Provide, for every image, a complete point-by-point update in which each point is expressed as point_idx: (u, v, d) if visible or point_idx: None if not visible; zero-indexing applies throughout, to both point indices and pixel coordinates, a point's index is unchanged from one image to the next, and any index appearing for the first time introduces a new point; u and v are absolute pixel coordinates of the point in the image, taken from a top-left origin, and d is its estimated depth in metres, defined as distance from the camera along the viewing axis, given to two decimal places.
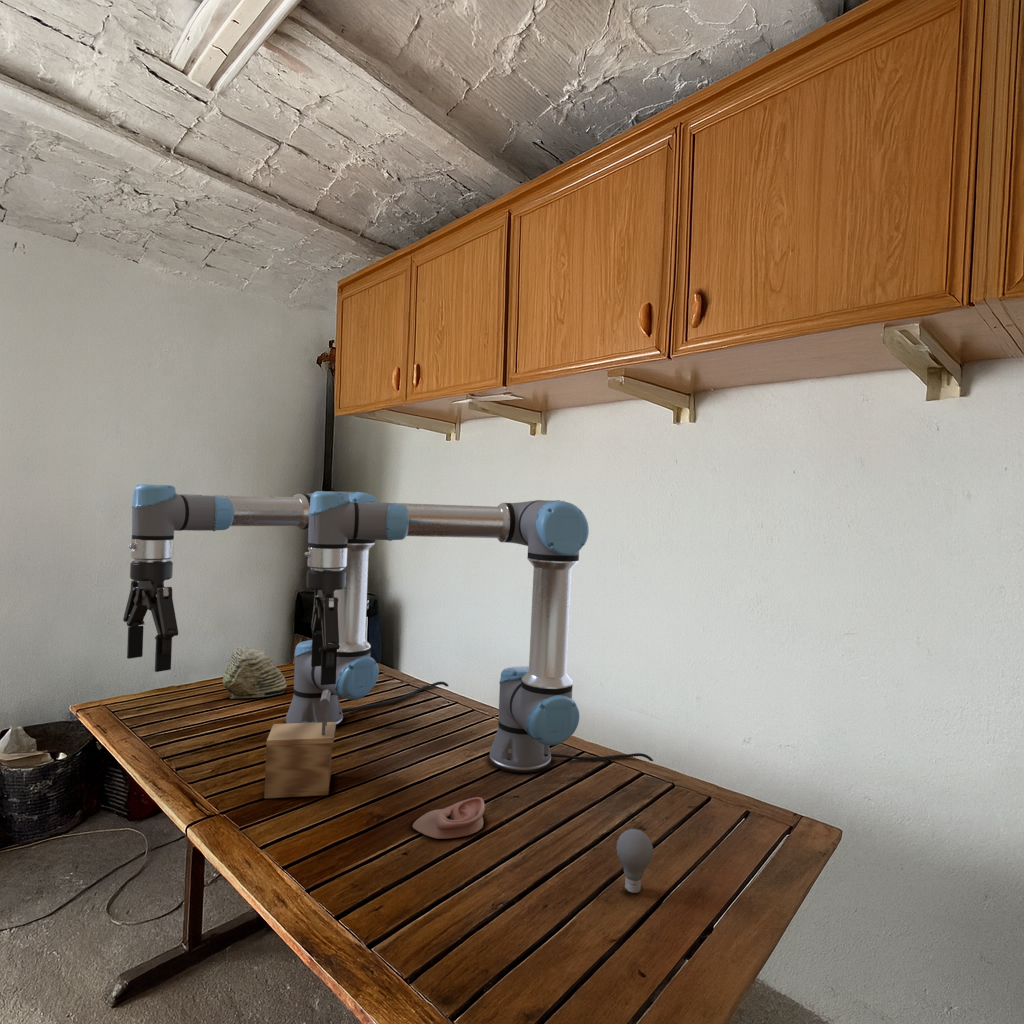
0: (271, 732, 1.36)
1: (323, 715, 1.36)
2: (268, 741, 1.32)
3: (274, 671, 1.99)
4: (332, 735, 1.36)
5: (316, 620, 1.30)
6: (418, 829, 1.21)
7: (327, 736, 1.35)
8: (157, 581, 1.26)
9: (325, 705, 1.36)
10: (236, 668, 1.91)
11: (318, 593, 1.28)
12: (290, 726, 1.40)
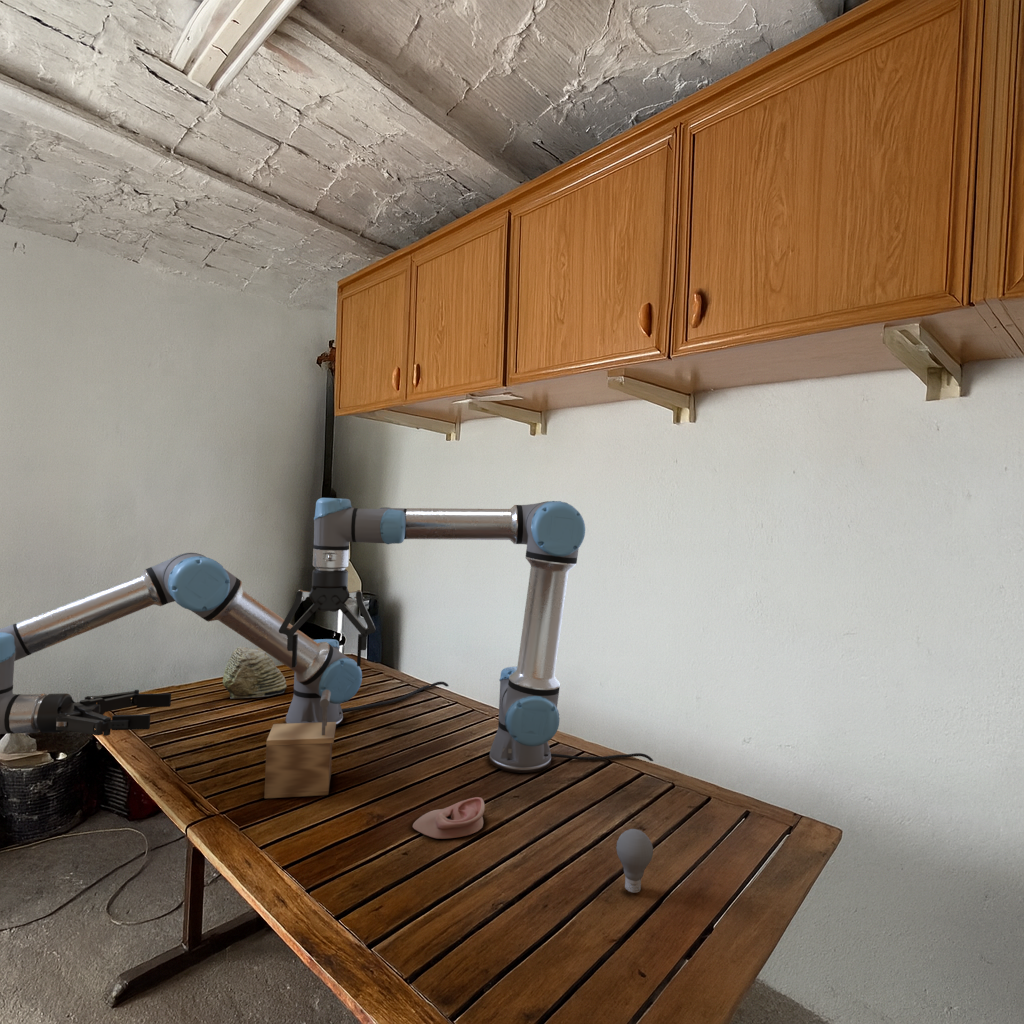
0: (271, 732, 1.36)
1: (323, 715, 1.36)
2: (268, 741, 1.32)
3: (274, 671, 1.99)
4: (332, 735, 1.36)
5: None
6: (418, 829, 1.21)
7: (327, 736, 1.35)
8: None
9: (325, 705, 1.36)
10: (236, 668, 1.91)
11: (318, 593, 1.37)
12: (290, 726, 1.40)
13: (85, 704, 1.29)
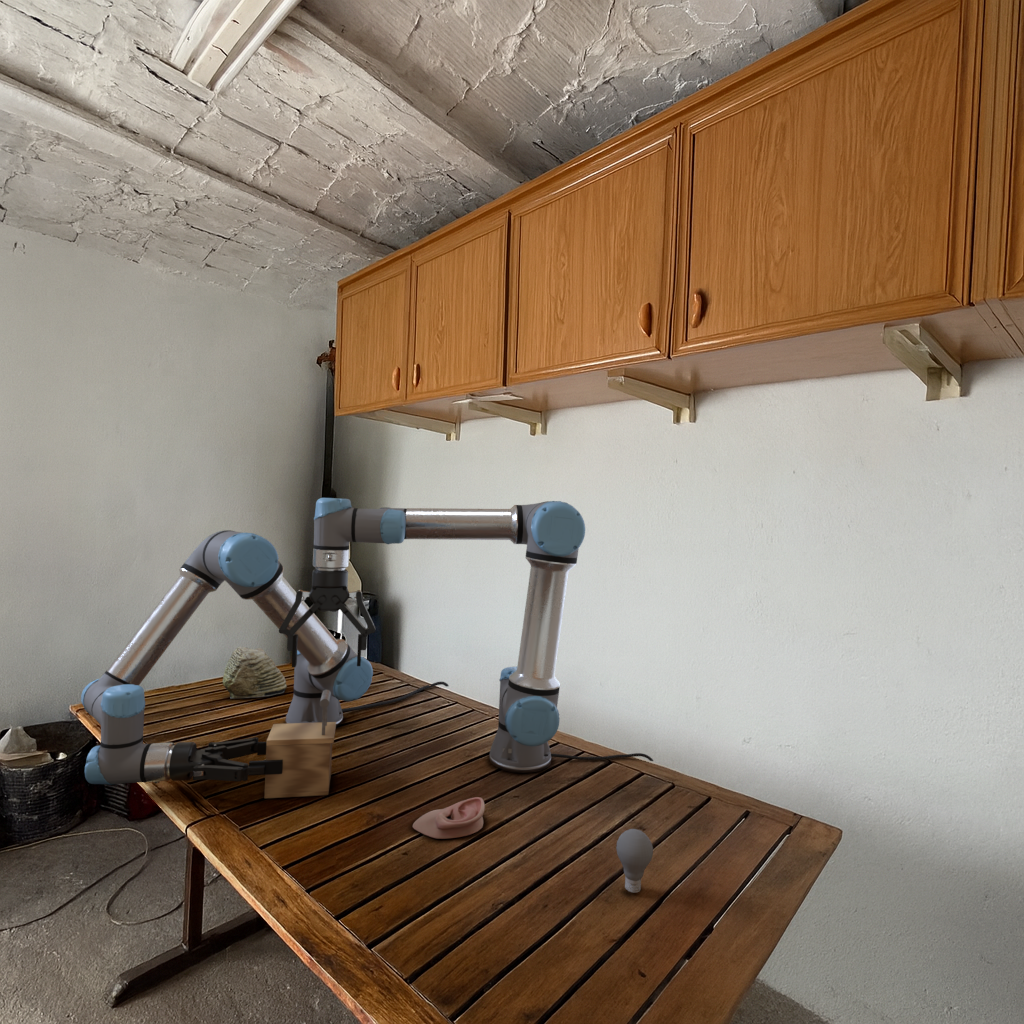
0: (271, 732, 1.36)
1: (323, 715, 1.36)
2: (268, 741, 1.32)
3: (274, 671, 1.99)
4: (332, 735, 1.36)
5: None
6: (418, 829, 1.21)
7: (327, 736, 1.35)
8: (188, 769, 1.30)
9: (325, 705, 1.36)
10: (236, 668, 1.91)
11: (318, 593, 1.37)
12: (290, 726, 1.40)
13: (210, 752, 1.35)
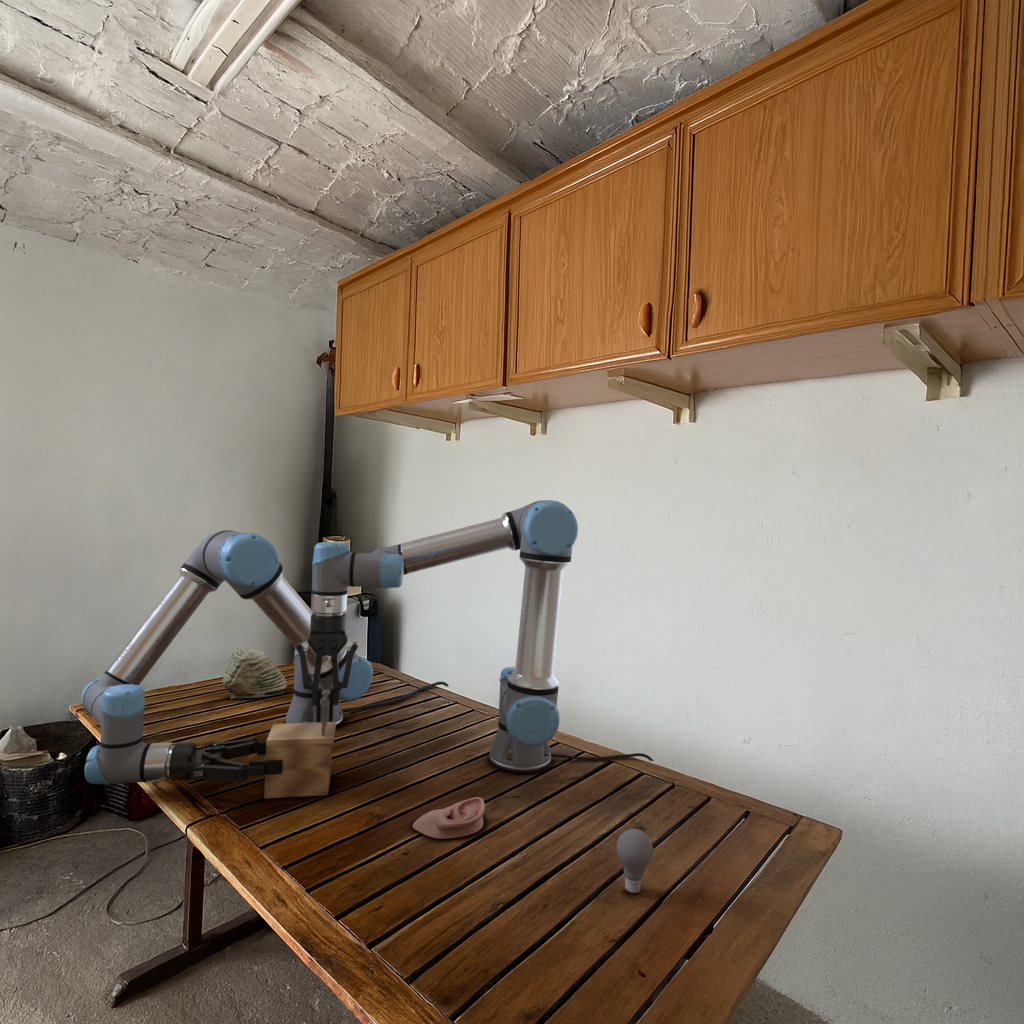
0: (271, 732, 1.36)
1: (323, 715, 1.36)
2: (268, 741, 1.32)
3: (274, 671, 1.99)
4: (332, 735, 1.36)
5: (320, 669, 1.37)
6: (418, 829, 1.21)
7: (327, 736, 1.35)
8: (187, 769, 1.30)
9: (325, 705, 1.36)
10: (236, 668, 1.91)
11: (316, 638, 1.37)
12: (290, 726, 1.40)
13: (210, 752, 1.35)
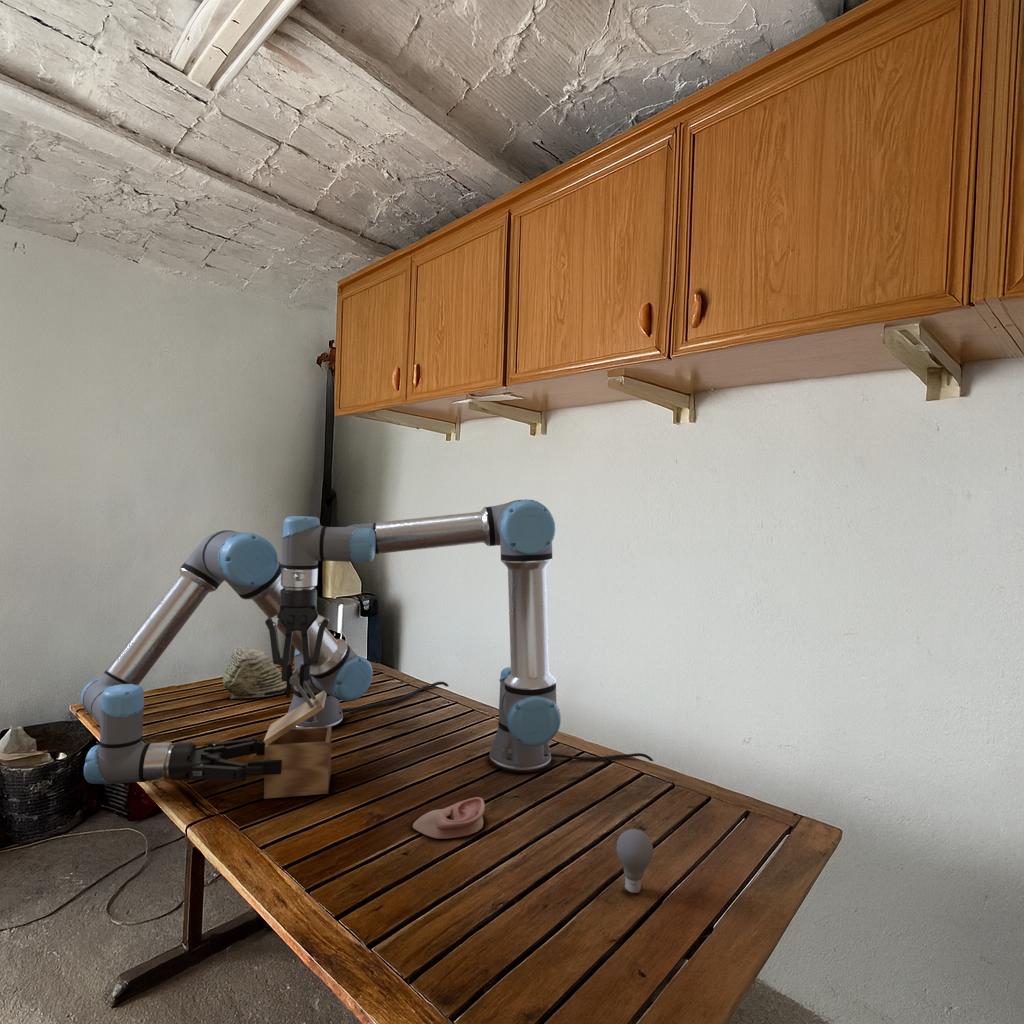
0: (268, 732, 1.36)
1: (300, 691, 1.35)
2: (265, 741, 1.32)
3: (274, 671, 1.99)
4: (320, 702, 1.35)
5: (290, 645, 1.36)
6: (418, 829, 1.21)
7: (315, 706, 1.35)
8: (187, 769, 1.29)
9: (296, 682, 1.34)
10: (236, 668, 1.91)
11: (286, 612, 1.35)
12: (284, 718, 1.39)
13: (209, 752, 1.35)
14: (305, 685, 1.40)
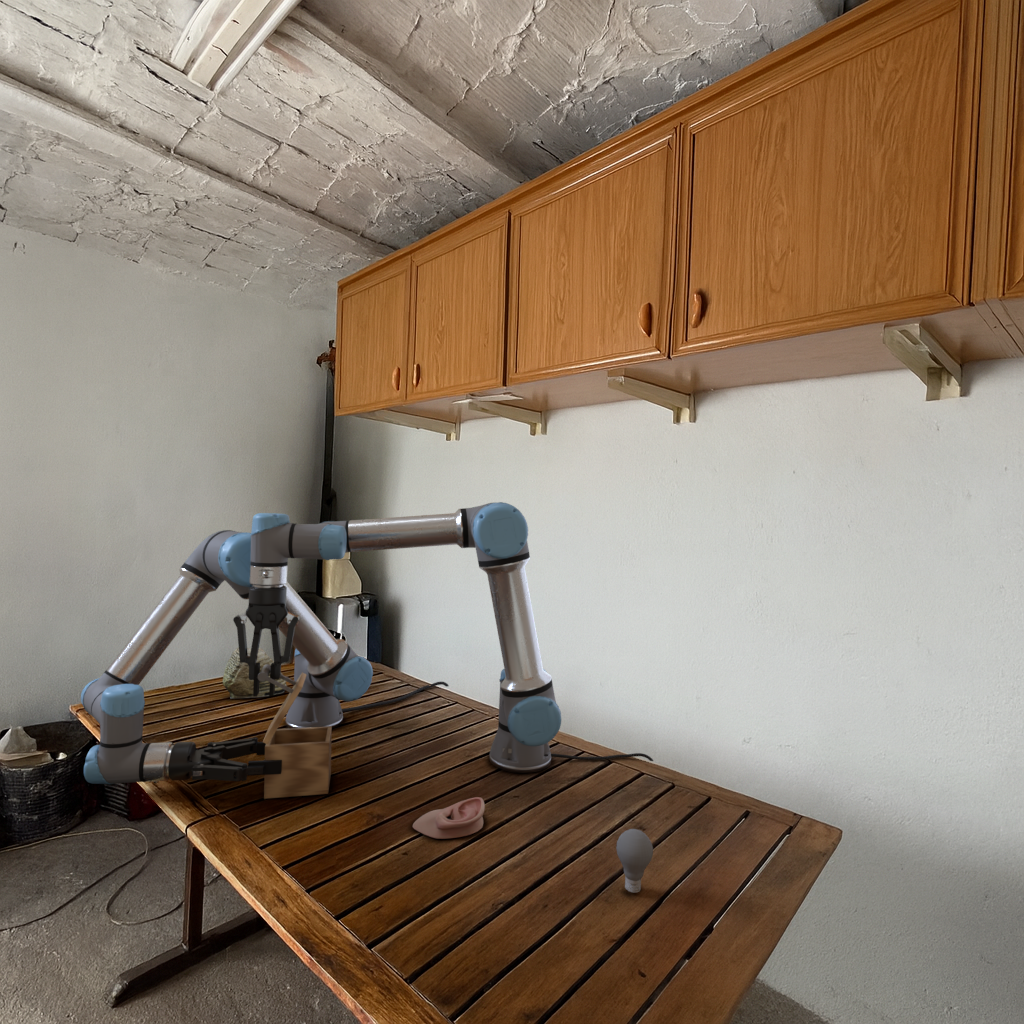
0: None
1: (273, 683, 1.33)
2: (264, 741, 1.32)
3: None
4: (297, 684, 1.34)
5: (258, 643, 1.34)
6: (418, 829, 1.21)
7: (294, 689, 1.34)
8: (187, 769, 1.29)
9: (265, 677, 1.33)
10: (236, 668, 1.91)
11: (254, 610, 1.34)
12: (277, 713, 1.39)
13: (209, 752, 1.35)
14: (280, 676, 1.39)
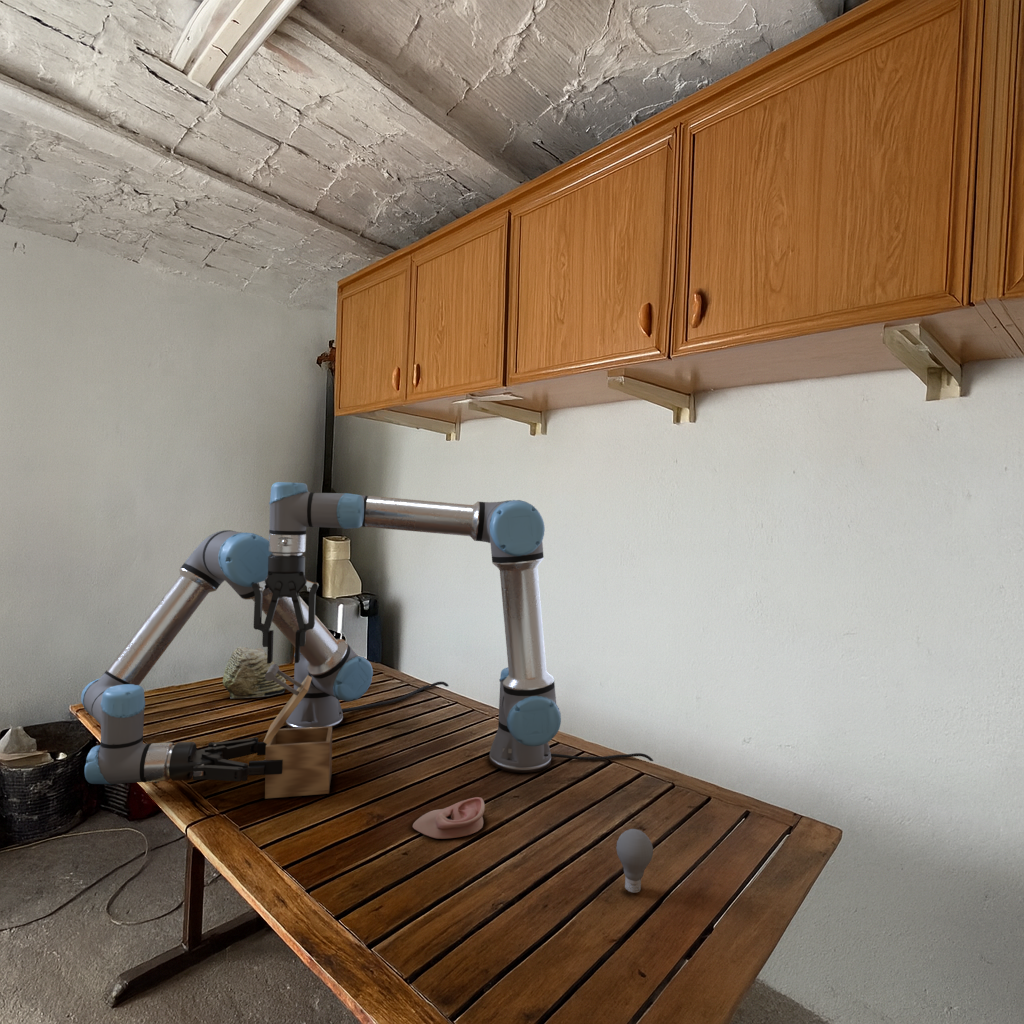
0: (267, 732, 1.36)
1: (280, 683, 1.34)
2: (265, 740, 1.32)
3: None
4: (303, 687, 1.34)
5: (274, 611, 1.35)
6: (418, 829, 1.21)
7: (300, 691, 1.34)
8: (187, 769, 1.29)
9: (272, 677, 1.33)
10: (236, 668, 1.91)
11: (274, 578, 1.35)
12: (279, 714, 1.39)
13: (210, 752, 1.35)
14: (286, 677, 1.39)
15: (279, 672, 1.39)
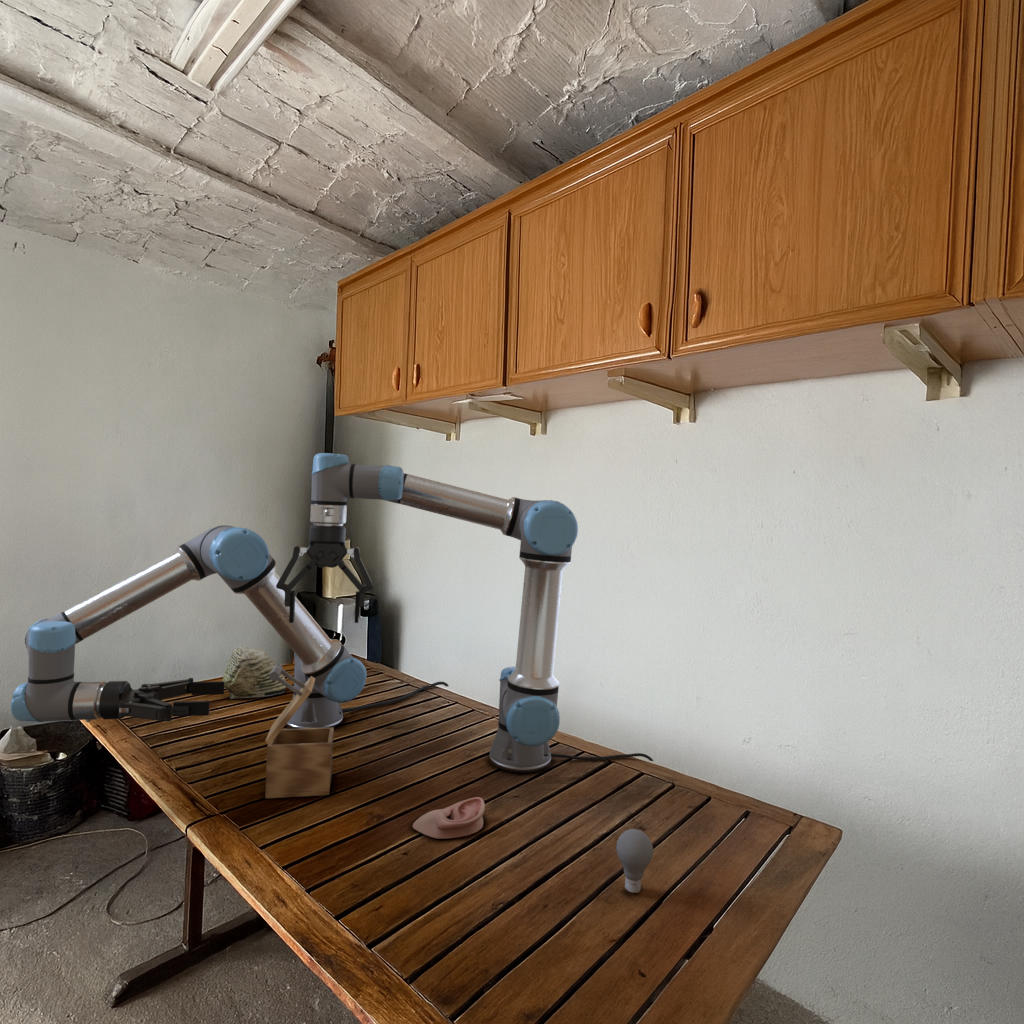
0: (269, 732, 1.36)
1: (284, 683, 1.34)
2: (267, 740, 1.32)
3: None
4: (306, 688, 1.34)
5: (303, 576, 1.36)
6: (418, 829, 1.21)
7: (303, 692, 1.34)
8: (118, 707, 1.26)
9: (276, 676, 1.33)
10: (236, 668, 1.91)
11: (315, 548, 1.36)
12: (281, 714, 1.39)
13: (144, 691, 1.31)
14: (290, 677, 1.39)
15: (283, 672, 1.39)
